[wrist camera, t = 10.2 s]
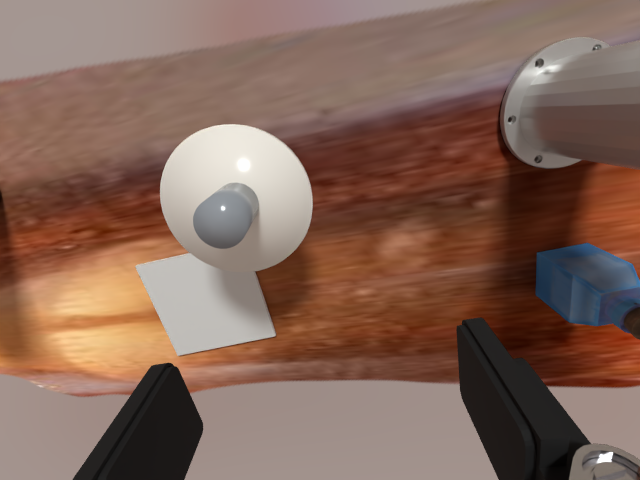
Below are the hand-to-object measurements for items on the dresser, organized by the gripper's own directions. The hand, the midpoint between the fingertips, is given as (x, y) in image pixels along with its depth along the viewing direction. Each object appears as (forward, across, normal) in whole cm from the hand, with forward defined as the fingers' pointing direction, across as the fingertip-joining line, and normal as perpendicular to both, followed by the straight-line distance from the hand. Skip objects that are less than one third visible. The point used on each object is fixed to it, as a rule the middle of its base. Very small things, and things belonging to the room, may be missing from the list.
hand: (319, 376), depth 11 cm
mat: (+28, +18, +12) cm, 35 cm away
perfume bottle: (+30, -27, +17) cm, 44 cm away
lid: (+18, +7, -2) cm, 19 cm away
